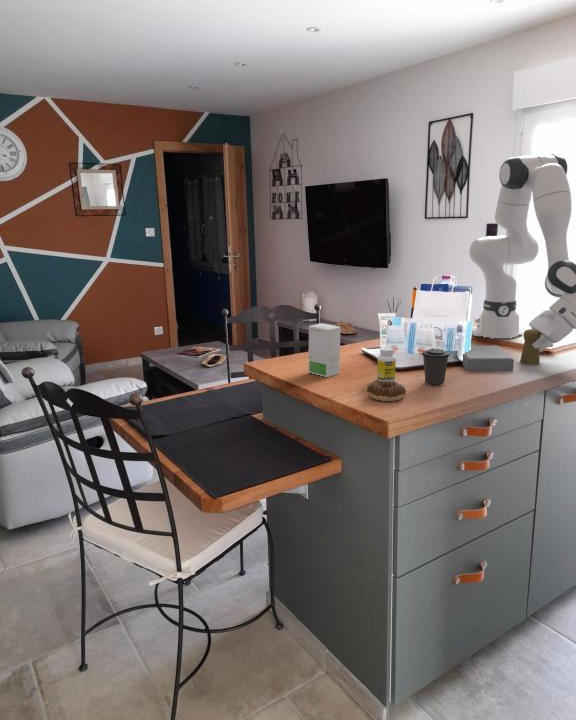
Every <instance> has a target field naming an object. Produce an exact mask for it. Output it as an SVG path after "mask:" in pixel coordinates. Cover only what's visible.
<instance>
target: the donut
mask: <svg viewBox="0 0 576 720" xmlns="http://www.w3.org/2000/svg"><path fill="white" fill-rule="evenodd" d="M366 391H367V394H368V396H369V397H370V398H371V399H372V398H373V399H372V400H375V399H376V401H378V400H382V401H381V402H384V401H393V402H396V401H395V400H398V401H400V400H402V399H403V398H404V397H405V396H406V392H407V390H406V387H405V386H404V385H402V384H400V383H399V382H396V381H392V382H390V381H378V380H377V381H373V382H372V383H370V384H369V385H368V386H367V389H366Z"/></svg>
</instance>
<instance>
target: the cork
mask: <svg viewBox="0 0 576 720" xmlns="http://www.w3.org/2000/svg"><path fill="white" fill-rule="evenodd" d="M522 336H523V340H524V339H525V340H524V343H523V347H522V351H521V355H520V360H519V363H521V364H522V365H526V366H536V365H537V366H538V365H540V363H541V361H540V352H539V347H538V348H537V349H536V348H534V347H533V346H532V343H533V342H534V341H537V340H538V339H540V337H541V333H540V332H539V331H538V330H534V329H532V328H531V329H526V330H524V331H523V333H522Z"/></svg>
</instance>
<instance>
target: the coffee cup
mask: <svg viewBox="0 0 576 720" xmlns="http://www.w3.org/2000/svg"><path fill="white" fill-rule="evenodd" d="M421 355H422V356H423V357H422V358H423V368H424V371H423V373H424V382H426V383H427V384H426V383H425V384H426V385H428V384H430V385H429V386H432V385H440V386H442V385H441V384H443V383H444V384H445V379H446V373H447V367H448V362H449V357H450V356H451V354H450V352H449V351H448V350H443V349H439V348H430V349H427V350H424V351H422V352H421ZM444 384H443V385H444Z"/></svg>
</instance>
